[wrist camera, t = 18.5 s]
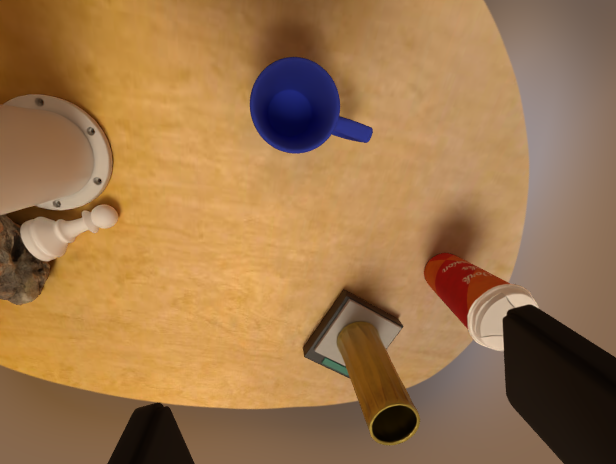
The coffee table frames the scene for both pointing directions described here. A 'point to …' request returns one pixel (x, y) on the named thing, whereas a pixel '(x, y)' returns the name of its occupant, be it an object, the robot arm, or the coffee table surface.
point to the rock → (19, 266)
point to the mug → (300, 107)
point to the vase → (377, 385)
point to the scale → (338, 317)
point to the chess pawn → (63, 231)
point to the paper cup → (475, 297)
